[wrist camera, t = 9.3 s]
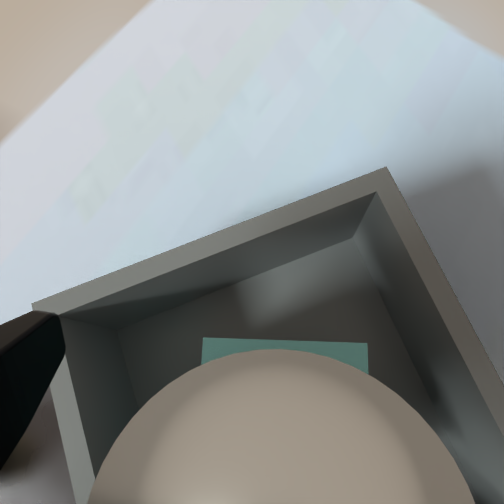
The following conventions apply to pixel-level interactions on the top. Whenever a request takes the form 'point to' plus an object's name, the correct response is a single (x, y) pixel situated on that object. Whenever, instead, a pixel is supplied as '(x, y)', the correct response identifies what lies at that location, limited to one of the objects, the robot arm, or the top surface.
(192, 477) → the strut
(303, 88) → the top surface
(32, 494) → the stud stand
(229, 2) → the top surface
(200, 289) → the bin
